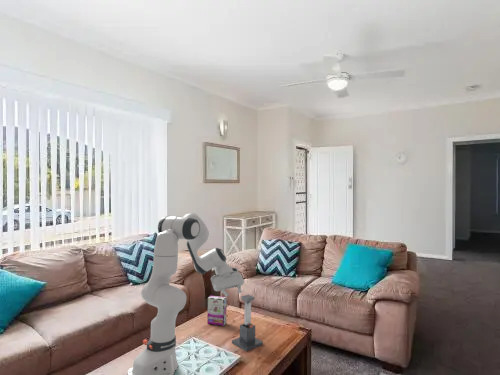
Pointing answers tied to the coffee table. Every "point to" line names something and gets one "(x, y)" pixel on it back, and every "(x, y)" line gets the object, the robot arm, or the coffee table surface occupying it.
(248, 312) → the steel post
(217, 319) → the candy bar box
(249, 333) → the jack stand base
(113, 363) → the coffee table surface
